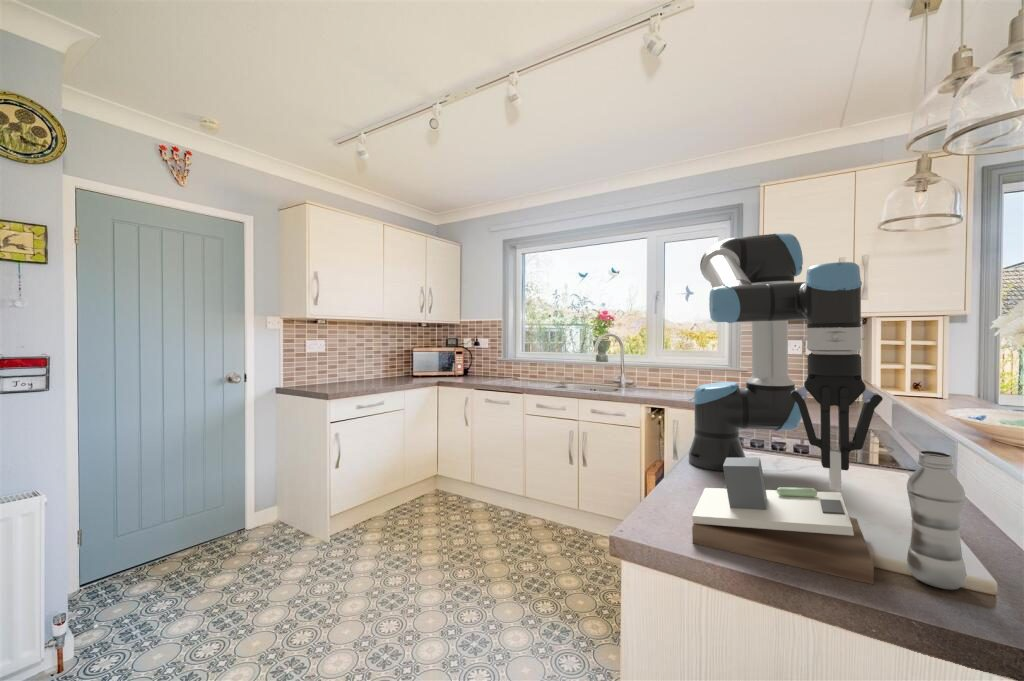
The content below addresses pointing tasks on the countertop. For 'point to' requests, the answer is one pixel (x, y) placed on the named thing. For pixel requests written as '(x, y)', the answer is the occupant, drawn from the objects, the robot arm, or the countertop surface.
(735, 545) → the walnut base
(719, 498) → the plate
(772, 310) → the robot arm
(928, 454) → the plastic bottle
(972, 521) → the countertop surface
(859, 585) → the countertop surface
